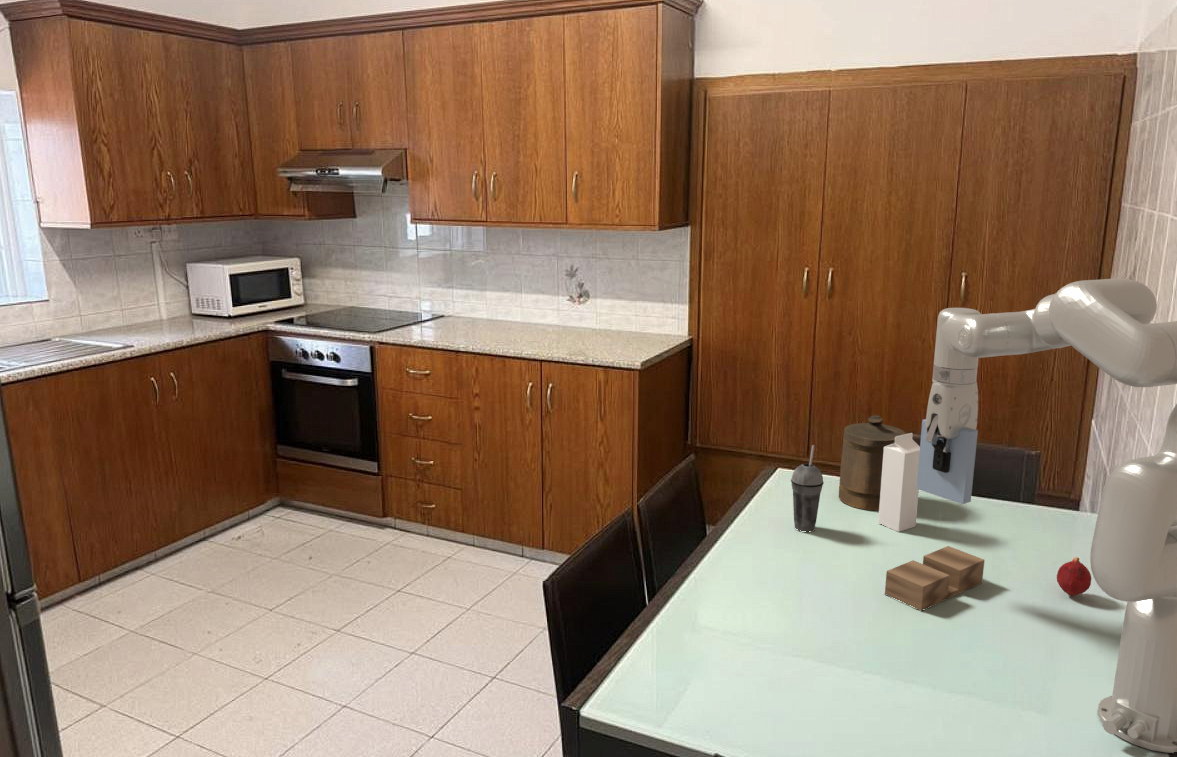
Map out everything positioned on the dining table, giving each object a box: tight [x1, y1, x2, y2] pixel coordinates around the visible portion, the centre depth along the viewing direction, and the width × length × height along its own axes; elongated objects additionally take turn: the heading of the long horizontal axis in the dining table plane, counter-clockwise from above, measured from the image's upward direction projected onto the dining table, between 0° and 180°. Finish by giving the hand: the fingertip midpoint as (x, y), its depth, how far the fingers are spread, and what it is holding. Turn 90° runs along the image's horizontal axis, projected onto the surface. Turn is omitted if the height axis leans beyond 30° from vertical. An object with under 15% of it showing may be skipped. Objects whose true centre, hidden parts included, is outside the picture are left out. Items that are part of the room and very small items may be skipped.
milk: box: [877, 432, 920, 533], centre depth 197 cm, size 6×6×22 cm
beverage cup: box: [790, 444, 825, 533], centre depth 195 cm, size 7×7×20 cm
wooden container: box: [838, 414, 907, 512], centre depth 213 cm, size 15×15×22 cm
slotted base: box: [884, 545, 985, 611], centre depth 168 cm, size 20×8×5 cm, turn 124°
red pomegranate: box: [1056, 556, 1092, 597], centre depth 164 cm, size 6×6×8 cm
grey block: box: [916, 418, 979, 505], centre depth 162 cm, size 2×10×14 cm, turn 34°
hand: (945, 468), depth 163 cm, fingers closed on grey block, 2 cm apart
